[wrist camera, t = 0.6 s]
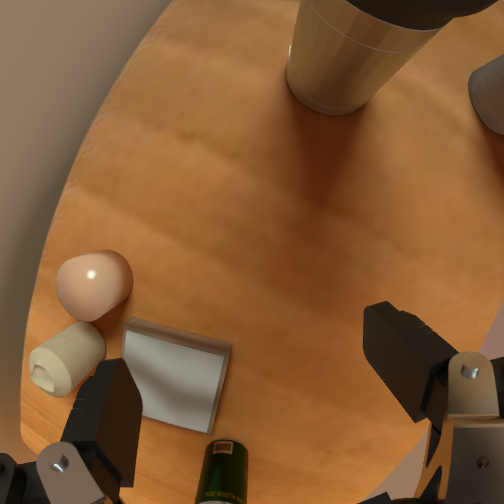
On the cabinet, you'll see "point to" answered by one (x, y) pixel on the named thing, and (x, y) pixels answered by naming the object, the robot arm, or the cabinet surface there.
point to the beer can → (223, 473)
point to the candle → (66, 358)
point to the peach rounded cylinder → (93, 284)
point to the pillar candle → (489, 94)
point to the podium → (176, 373)
